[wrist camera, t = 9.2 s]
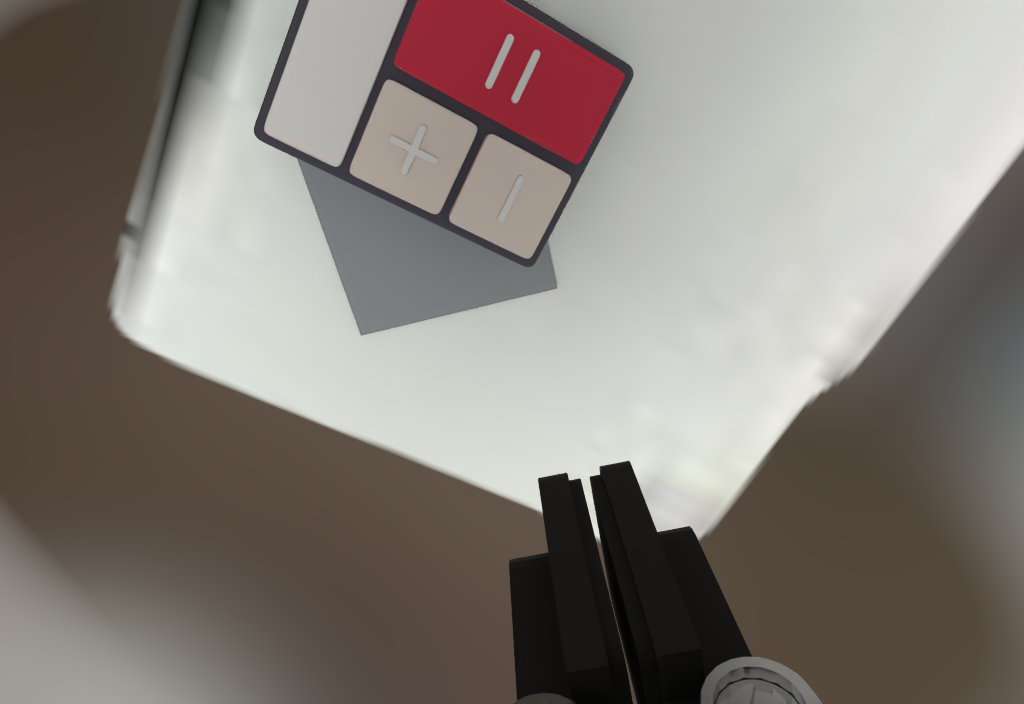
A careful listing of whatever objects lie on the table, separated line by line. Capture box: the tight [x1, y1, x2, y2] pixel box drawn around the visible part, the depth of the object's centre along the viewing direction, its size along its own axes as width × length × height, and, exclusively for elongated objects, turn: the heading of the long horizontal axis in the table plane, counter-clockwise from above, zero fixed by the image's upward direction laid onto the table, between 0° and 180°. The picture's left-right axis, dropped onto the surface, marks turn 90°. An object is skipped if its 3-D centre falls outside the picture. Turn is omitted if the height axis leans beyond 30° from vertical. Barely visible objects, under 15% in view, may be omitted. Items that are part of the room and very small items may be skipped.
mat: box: [297, 158, 557, 335], centre depth 35 cm, size 12×11×1 cm
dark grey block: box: [254, 0, 633, 267], centre depth 31 cm, size 11×4×15 cm
